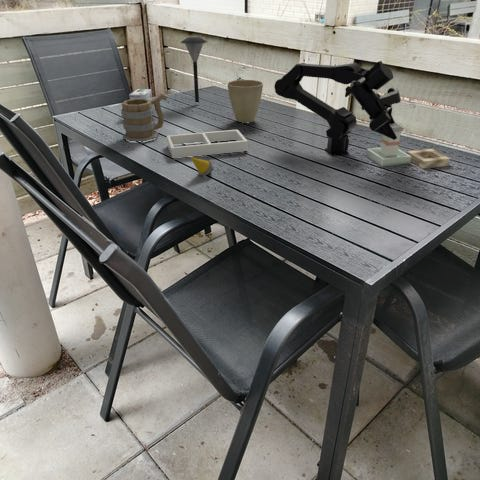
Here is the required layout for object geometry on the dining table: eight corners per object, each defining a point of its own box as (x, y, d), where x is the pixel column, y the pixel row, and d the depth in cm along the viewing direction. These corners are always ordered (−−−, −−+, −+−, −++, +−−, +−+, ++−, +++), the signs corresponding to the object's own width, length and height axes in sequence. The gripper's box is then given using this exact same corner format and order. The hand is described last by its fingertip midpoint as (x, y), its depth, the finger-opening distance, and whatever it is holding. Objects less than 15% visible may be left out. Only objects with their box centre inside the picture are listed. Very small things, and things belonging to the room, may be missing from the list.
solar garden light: (181, 107, 210) (176, 39, 194) (188, 101, 220) (184, 35, 205) (206, 108, 208) (203, 39, 193) (212, 102, 219) (209, 36, 203)
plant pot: (268, 119, 192) (269, 81, 184) (251, 128, 182) (251, 88, 173) (239, 114, 199) (239, 78, 191) (221, 122, 188) (220, 84, 180)
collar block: (422, 168, 143) (424, 161, 142) (405, 158, 152) (406, 151, 150) (448, 165, 146) (450, 158, 144) (430, 155, 154) (431, 148, 152)
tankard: (134, 145, 164) (129, 105, 156) (118, 137, 172) (112, 98, 164) (179, 134, 175) (176, 96, 167) (162, 127, 183) (158, 90, 176)
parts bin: (172, 159, 152) (171, 148, 150) (167, 146, 163) (166, 135, 161) (247, 151, 158) (247, 141, 156) (237, 139, 169) (237, 129, 167)
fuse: (384, 160, 148) (390, 127, 142) (378, 155, 152) (383, 124, 146) (396, 159, 149) (402, 127, 143) (390, 154, 152) (396, 123, 147)
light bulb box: (139, 112, 203) (137, 88, 198) (154, 113, 203) (151, 88, 197) (131, 119, 194) (128, 94, 189) (146, 119, 194) (143, 94, 188)
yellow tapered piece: (216, 178, 139) (194, 162, 132) (204, 181, 142) (182, 166, 135) (219, 164, 141) (198, 147, 134) (207, 167, 144) (186, 151, 137)
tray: (381, 166, 145) (383, 159, 144) (365, 155, 154) (366, 148, 152) (410, 163, 147) (411, 156, 146) (392, 152, 156) (393, 146, 155)
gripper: (386, 87, 131) (418, 127, 133) (389, 75, 146) (418, 111, 149) (356, 111, 137) (386, 149, 140) (362, 97, 152) (389, 132, 155)
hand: (396, 134), depth 146 cm, fingers open, 9 cm apart
